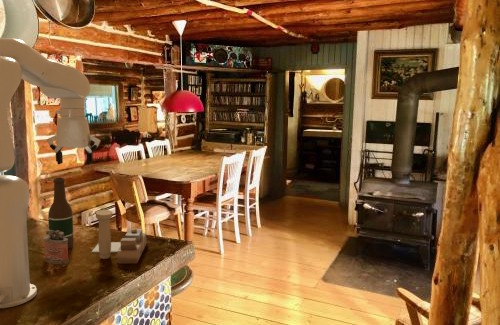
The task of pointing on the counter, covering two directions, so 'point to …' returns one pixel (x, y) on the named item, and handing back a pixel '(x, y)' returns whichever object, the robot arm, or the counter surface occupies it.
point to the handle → (104, 233)
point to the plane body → (131, 246)
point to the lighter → (56, 247)
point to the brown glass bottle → (61, 212)
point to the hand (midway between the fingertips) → (74, 163)
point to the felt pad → (114, 247)
